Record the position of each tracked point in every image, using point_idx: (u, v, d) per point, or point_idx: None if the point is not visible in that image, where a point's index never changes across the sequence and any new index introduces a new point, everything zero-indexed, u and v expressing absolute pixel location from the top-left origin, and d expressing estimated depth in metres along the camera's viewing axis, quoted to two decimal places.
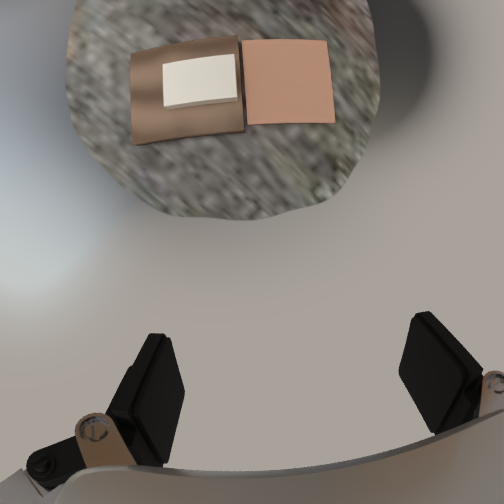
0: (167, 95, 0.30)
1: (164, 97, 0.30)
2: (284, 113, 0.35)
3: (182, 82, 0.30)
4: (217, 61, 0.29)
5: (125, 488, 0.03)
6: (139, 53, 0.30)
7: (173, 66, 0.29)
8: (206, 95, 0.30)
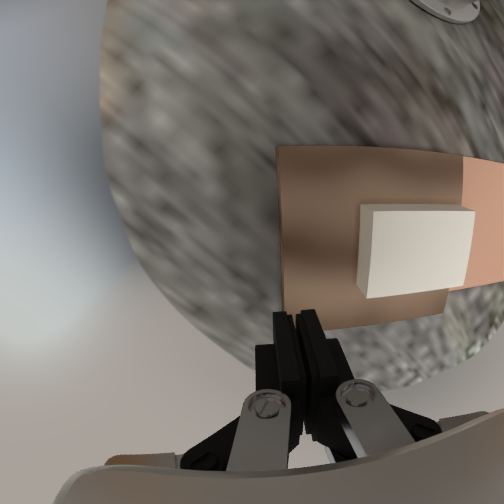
0: (376, 279, 0.18)
1: (370, 282, 0.18)
2: (475, 275, 0.23)
3: (403, 256, 0.17)
4: (455, 223, 0.16)
5: (125, 488, 0.03)
6: (299, 150, 0.17)
7: (392, 220, 0.16)
8: (430, 283, 0.18)
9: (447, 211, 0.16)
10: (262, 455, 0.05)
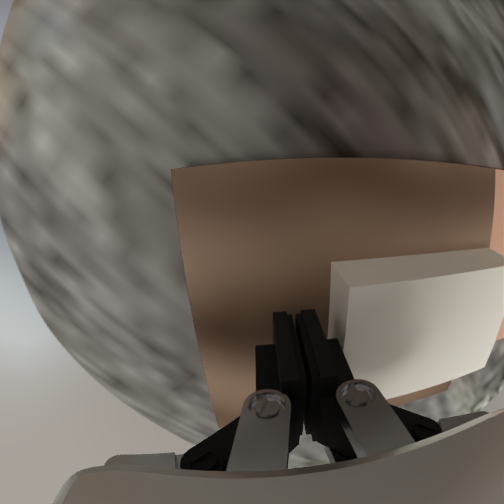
0: None
1: None
2: None
3: (400, 351, 0.10)
4: (489, 287, 0.09)
5: (124, 488, 0.03)
6: (207, 174, 0.10)
7: (385, 299, 0.09)
8: (439, 376, 0.10)
9: (479, 270, 0.09)
10: (262, 455, 0.05)
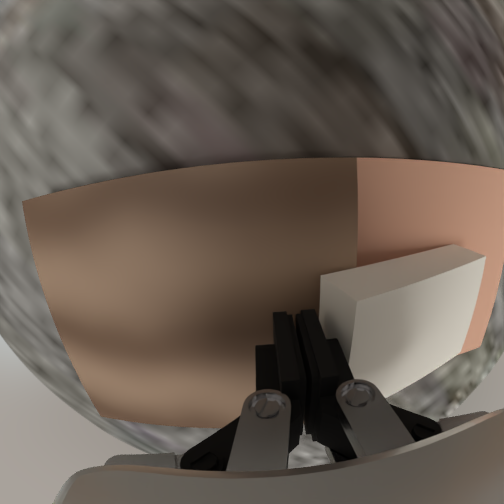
0: None
1: None
2: None
3: (395, 353, 0.10)
4: (465, 281, 0.11)
5: (124, 488, 0.03)
6: (40, 204, 0.10)
7: (386, 307, 0.09)
8: (425, 368, 0.12)
9: (458, 267, 0.10)
10: (262, 455, 0.05)
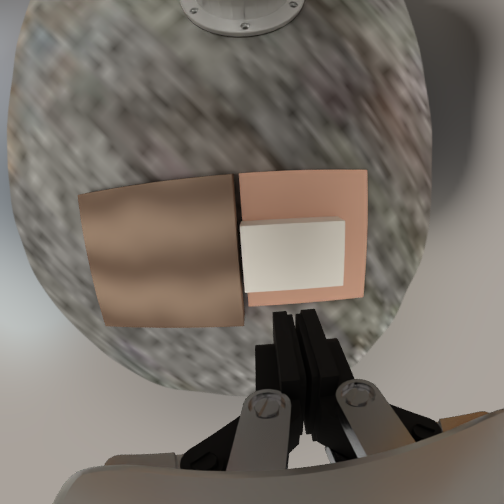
0: (249, 277, 0.25)
1: (245, 280, 0.25)
2: (298, 291, 0.28)
3: (271, 260, 0.25)
4: (322, 232, 0.24)
5: (125, 488, 0.03)
6: (88, 196, 0.23)
7: (257, 232, 0.24)
8: (304, 282, 0.25)
9: (311, 222, 0.24)
10: (262, 455, 0.05)
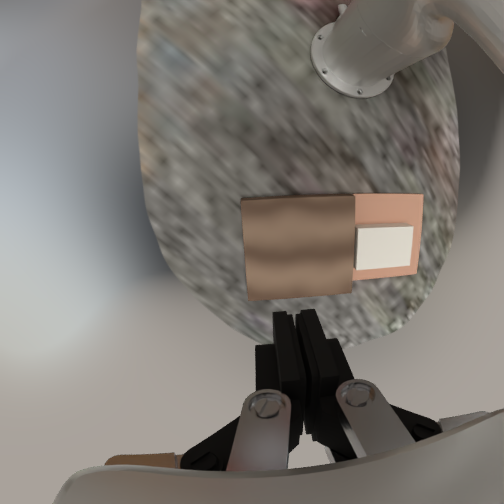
0: (360, 260, 0.38)
1: (357, 262, 0.38)
2: (380, 270, 0.41)
3: (373, 249, 0.37)
4: (401, 232, 0.37)
5: (124, 488, 0.03)
6: (251, 202, 0.36)
7: (367, 232, 0.37)
8: (389, 263, 0.38)
9: (396, 227, 0.37)
10: (262, 455, 0.05)
